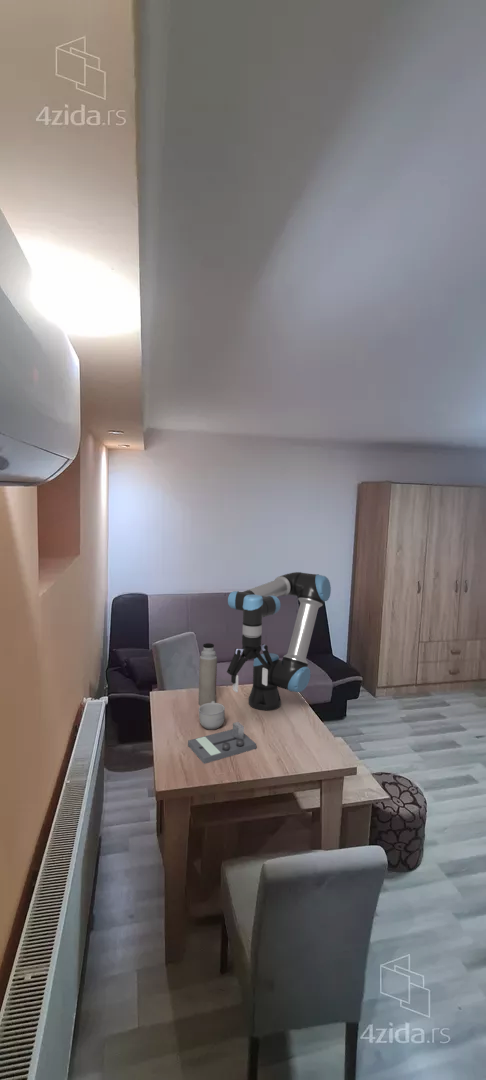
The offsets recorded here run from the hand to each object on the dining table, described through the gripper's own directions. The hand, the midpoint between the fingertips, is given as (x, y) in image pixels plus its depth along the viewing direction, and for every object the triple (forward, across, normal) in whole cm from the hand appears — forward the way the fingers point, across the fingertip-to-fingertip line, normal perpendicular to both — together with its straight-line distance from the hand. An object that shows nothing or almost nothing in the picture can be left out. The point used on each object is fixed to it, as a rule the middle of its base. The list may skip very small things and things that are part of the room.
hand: (250, 687), depth 182 cm
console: (+21, +12, +1) cm, 24 cm away
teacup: (+21, +7, -17) cm, 28 cm away
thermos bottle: (+21, 0, -36) cm, 42 cm away
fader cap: (+19, +6, +1) cm, 20 cm away
